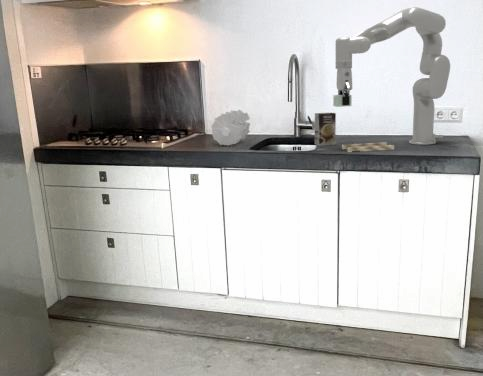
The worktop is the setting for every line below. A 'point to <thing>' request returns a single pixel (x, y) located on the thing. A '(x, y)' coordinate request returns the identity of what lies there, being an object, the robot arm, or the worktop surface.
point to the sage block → (340, 100)
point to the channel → (368, 147)
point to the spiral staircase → (230, 127)
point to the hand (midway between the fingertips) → (343, 104)
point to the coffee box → (325, 128)
